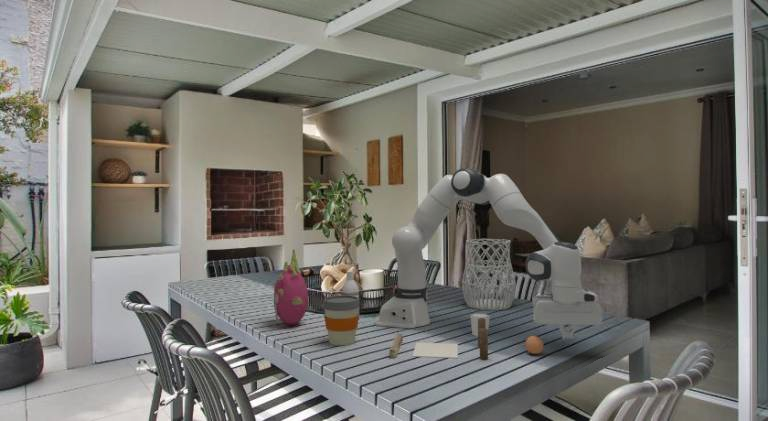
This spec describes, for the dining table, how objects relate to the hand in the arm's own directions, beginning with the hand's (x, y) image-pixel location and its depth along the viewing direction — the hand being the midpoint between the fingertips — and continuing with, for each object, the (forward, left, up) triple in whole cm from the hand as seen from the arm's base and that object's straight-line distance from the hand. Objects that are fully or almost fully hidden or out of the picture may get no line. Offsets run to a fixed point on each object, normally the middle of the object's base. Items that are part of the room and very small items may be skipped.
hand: (567, 338), depth 148 cm
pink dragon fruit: (-100, +26, -5) cm, 103 cm away
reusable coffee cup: (-74, +6, -5) cm, 74 cm away
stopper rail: (-54, 0, -5) cm, 54 cm away
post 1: (-26, +6, -5) cm, 27 cm away
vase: (-20, +68, -5) cm, 71 cm away
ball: (-10, 0, -2) cm, 10 cm away
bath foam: (-78, +37, -5) cm, 86 cm away
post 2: (-26, -6, -5) cm, 27 cm away
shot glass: (-26, +20, -5) cm, 33 cm away
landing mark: (-41, 0, -5) cm, 41 cm away
